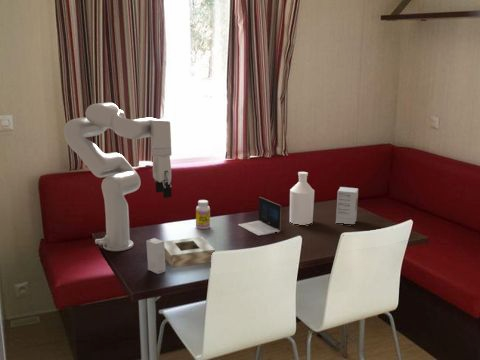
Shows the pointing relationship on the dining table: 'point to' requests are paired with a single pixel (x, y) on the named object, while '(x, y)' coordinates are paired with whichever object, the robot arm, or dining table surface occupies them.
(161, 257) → the skincare box
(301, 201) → the bottle
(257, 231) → the laptop
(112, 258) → the dining table surface
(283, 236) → the dining table surface
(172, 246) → the wooden frame
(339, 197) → the supplement box
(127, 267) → the dining table surface
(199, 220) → the supplement bottle
